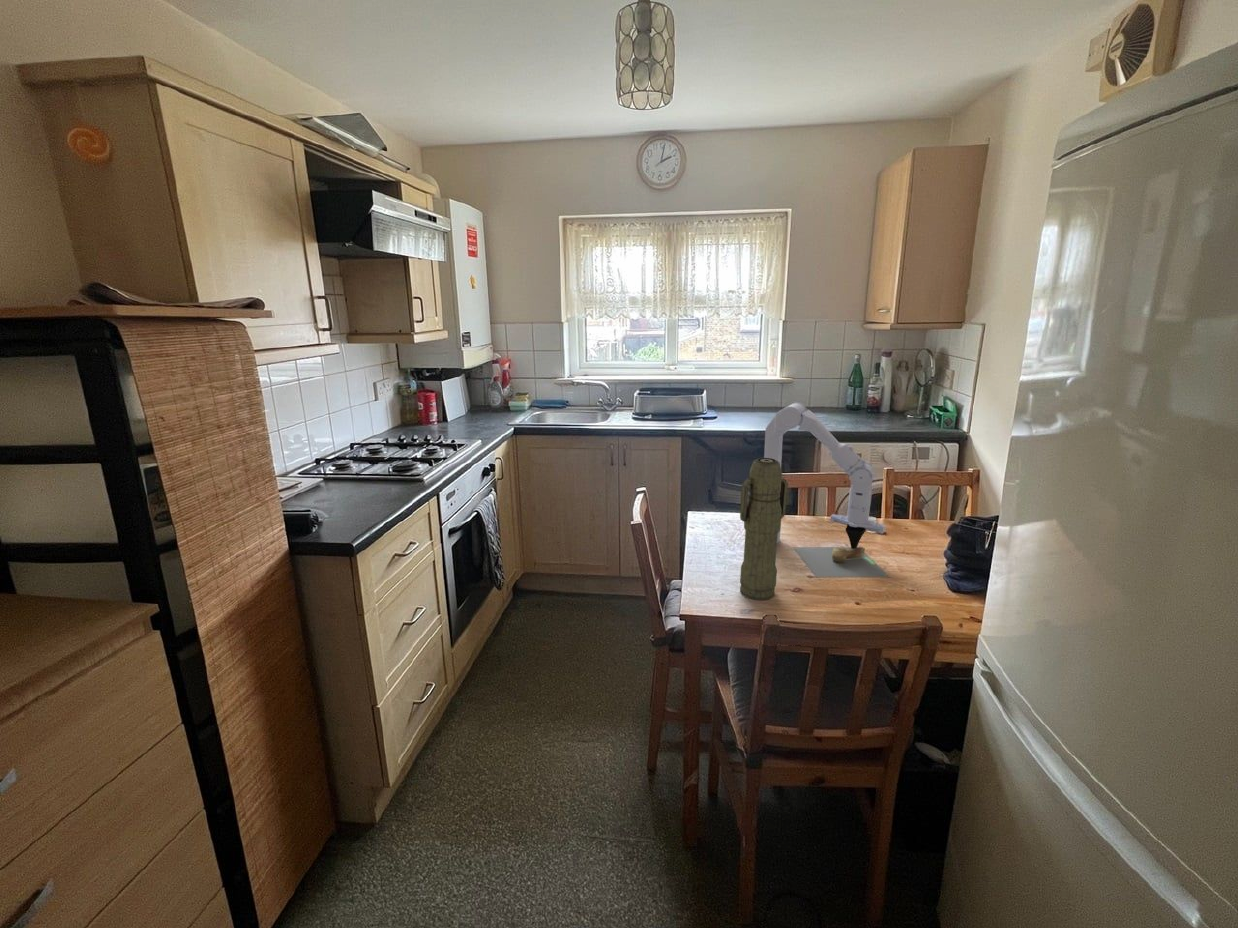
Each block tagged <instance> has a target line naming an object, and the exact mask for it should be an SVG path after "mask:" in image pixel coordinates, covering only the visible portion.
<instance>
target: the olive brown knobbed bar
mask: <svg viewBox="0 0 1238 928" xmlns="http://www.w3.org/2000/svg"><path fill="white" fill-rule="evenodd" d="M834 547H835V548H833V556H832V559H833V560H834V561H836V562H845V561H846V559H853V558H860V557H864V552H866V551H865V547H863V546H857V547H858V548H851V549H844V548H841V547H842V546H834Z"/></svg>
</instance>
